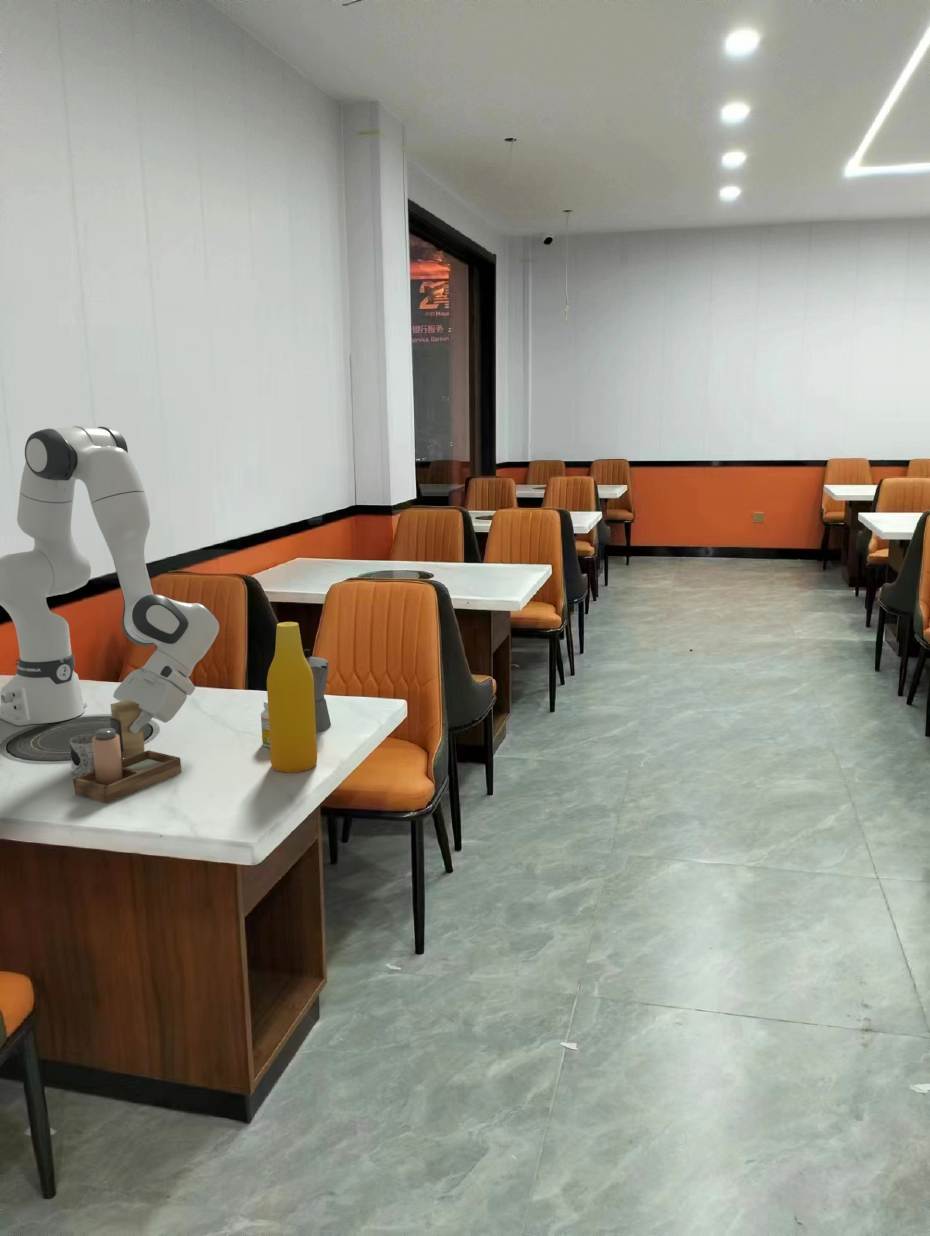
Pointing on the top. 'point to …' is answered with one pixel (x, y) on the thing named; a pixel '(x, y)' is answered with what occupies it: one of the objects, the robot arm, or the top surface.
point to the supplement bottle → (265, 725)
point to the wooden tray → (129, 776)
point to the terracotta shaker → (107, 756)
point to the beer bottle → (291, 704)
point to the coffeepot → (319, 689)
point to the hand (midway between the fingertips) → (124, 728)
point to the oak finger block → (121, 720)
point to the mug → (82, 754)
